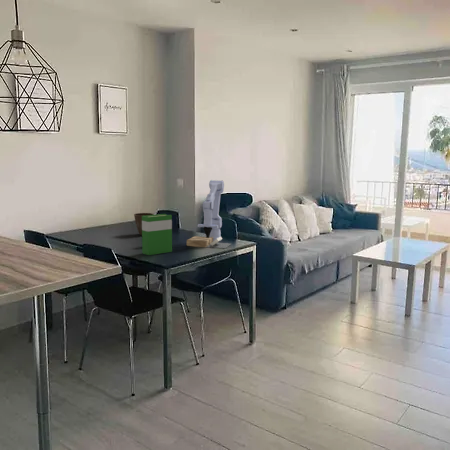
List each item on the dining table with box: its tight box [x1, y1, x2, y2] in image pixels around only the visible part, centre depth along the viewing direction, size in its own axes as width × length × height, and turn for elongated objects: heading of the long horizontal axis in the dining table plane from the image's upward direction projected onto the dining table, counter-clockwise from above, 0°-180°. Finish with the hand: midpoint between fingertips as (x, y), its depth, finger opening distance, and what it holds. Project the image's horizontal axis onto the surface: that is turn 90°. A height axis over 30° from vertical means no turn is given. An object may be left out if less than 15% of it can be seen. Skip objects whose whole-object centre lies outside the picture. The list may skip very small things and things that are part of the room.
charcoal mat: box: [206, 242, 232, 250], centre depth 328 cm, size 16×13×1 cm
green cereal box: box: [141, 213, 173, 256], centre depth 303 cm, size 18×7×24 cm, turn 130°
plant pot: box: [133, 212, 155, 236], centre depth 367 cm, size 15×15×16 cm
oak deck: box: [186, 235, 213, 248], centre depth 332 cm, size 16×14×4 cm
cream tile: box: [211, 236, 223, 246], centre depth 328 cm, size 9×6×2 cm
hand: (207, 237), depth 329 cm, fingers closed
